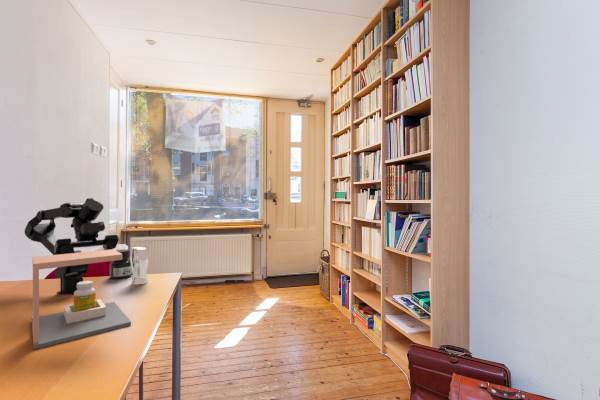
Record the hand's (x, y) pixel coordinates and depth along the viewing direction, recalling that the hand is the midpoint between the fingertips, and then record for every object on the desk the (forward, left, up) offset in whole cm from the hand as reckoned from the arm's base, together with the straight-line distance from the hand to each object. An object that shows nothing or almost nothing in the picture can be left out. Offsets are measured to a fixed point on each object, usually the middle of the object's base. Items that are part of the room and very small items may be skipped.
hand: (93, 262), depth 106 cm
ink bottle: (-10, +33, -14) cm, 37 cm away
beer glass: (+4, +23, -14) cm, 27 cm away
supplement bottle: (+7, -14, -13) cm, 20 cm away
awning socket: (+9, -18, -14) cm, 24 cm away
